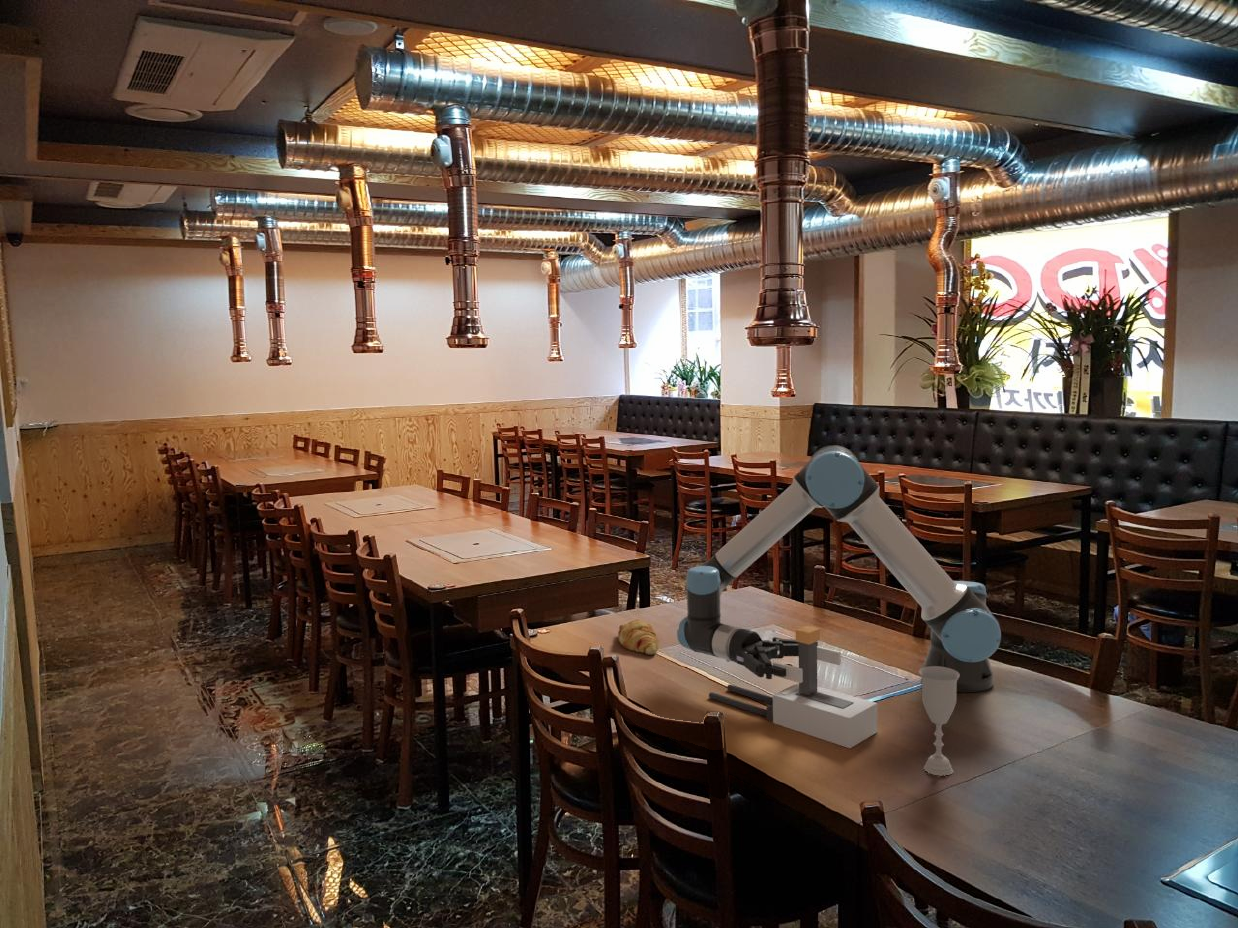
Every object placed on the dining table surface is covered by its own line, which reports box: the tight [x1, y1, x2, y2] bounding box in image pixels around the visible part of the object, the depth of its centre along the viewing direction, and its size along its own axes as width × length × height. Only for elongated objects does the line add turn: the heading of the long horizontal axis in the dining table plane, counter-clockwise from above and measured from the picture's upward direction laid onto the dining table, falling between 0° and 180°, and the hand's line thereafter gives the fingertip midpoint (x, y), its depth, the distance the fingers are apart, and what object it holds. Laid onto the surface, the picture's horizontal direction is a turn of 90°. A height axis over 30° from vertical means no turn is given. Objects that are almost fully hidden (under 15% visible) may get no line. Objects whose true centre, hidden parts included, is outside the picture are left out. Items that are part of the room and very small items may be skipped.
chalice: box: [918, 666, 960, 777], centre depth 156 cm, size 7×7×18 cm
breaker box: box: [772, 682, 878, 749], centre depth 177 cm, size 18×10×6 cm, turn 44°
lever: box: [795, 625, 821, 695], centre depth 178 cm, size 3×4×13 cm
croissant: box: [617, 619, 660, 656], centre depth 233 cm, size 21×10×8 cm, turn 24°
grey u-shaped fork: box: [708, 684, 773, 722], centre depth 190 cm, size 19×9×3 cm, turn 44°
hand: (821, 666), depth 176 cm, fingers open, 13 cm apart
